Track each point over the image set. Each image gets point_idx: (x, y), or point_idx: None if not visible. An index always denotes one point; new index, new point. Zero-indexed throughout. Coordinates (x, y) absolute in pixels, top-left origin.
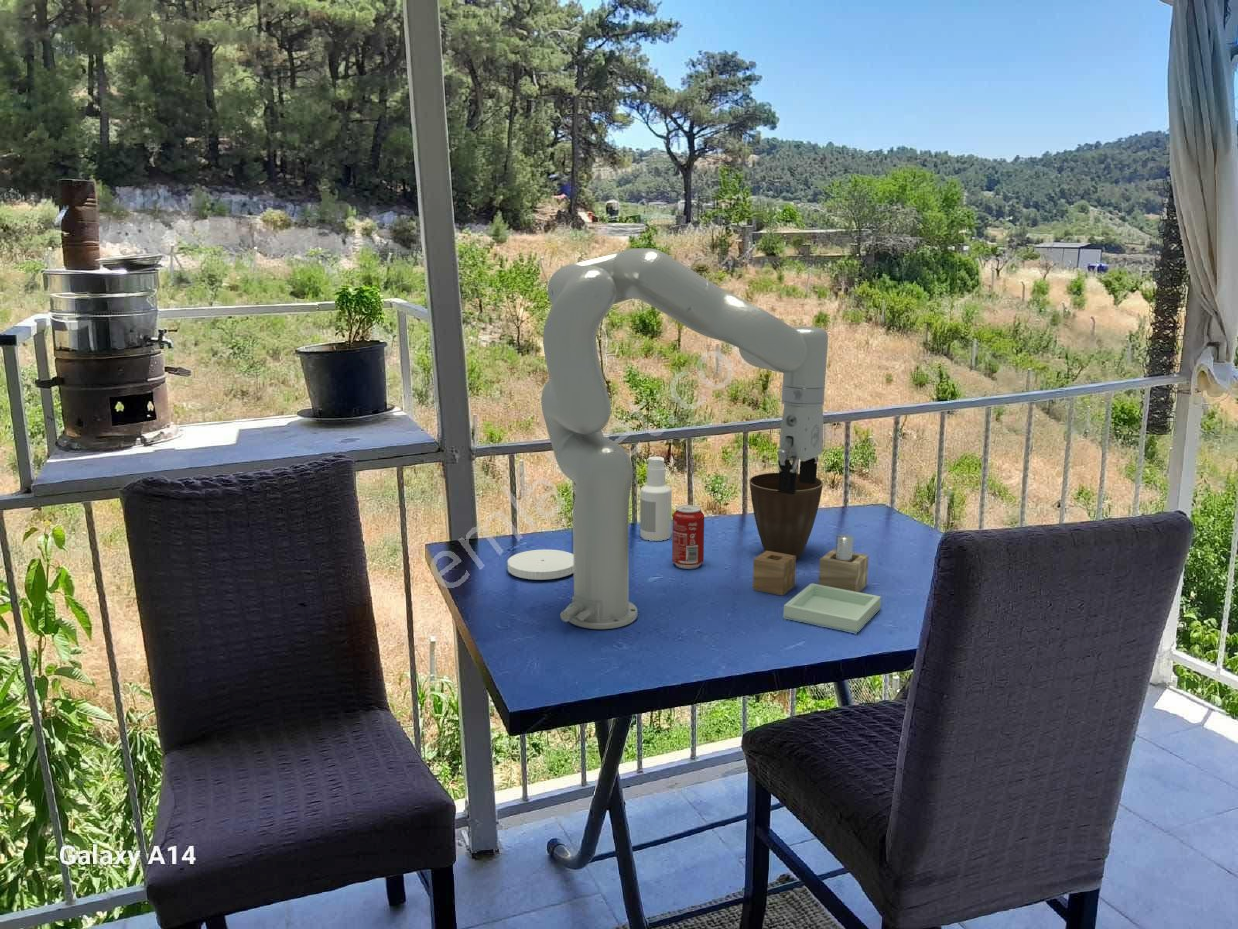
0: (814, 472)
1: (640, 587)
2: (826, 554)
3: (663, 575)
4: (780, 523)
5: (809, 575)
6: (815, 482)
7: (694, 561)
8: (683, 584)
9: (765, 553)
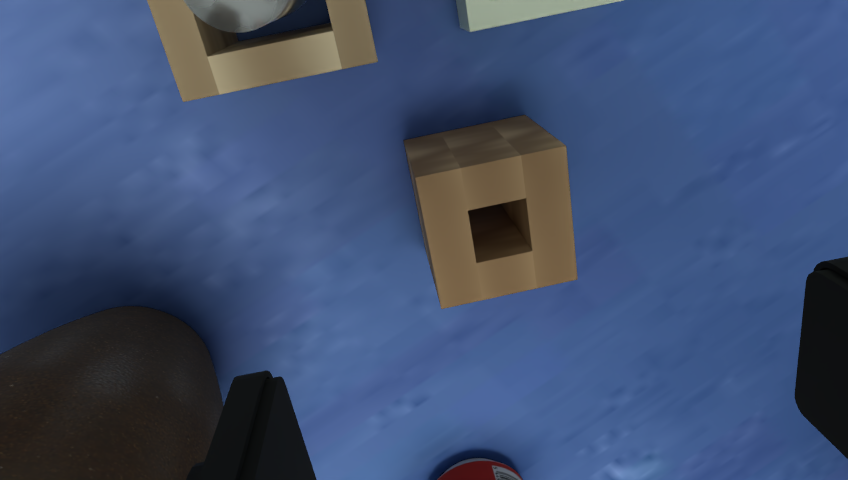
0: (255, 472)
1: (713, 450)
2: (285, 78)
3: (593, 472)
4: (208, 427)
5: (255, 167)
6: (247, 377)
7: (505, 472)
8: (626, 395)
9: (478, 290)
